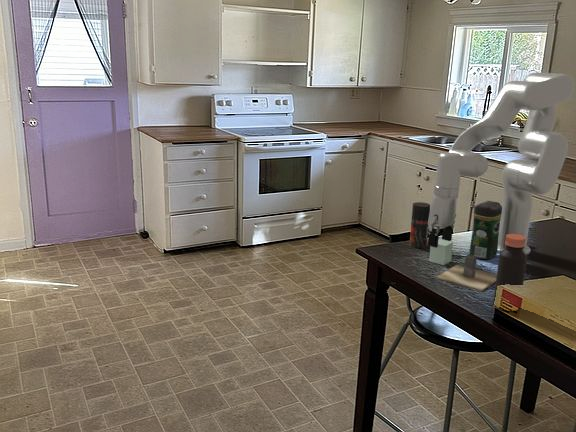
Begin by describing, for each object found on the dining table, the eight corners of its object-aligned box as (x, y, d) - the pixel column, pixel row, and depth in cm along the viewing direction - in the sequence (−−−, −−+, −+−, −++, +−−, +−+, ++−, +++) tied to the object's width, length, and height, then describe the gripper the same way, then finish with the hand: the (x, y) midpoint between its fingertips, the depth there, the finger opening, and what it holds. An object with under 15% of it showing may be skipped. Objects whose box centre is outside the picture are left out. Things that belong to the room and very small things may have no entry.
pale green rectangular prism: (436, 257, 186) (438, 238, 184) (451, 261, 183) (453, 242, 181) (429, 261, 182) (430, 242, 181) (443, 265, 179) (445, 246, 177)
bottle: (490, 308, 150) (499, 237, 144) (495, 299, 155) (504, 231, 149) (517, 314, 146) (527, 242, 140) (521, 305, 152) (531, 235, 146)
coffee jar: (477, 249, 194) (483, 197, 189) (499, 254, 189) (506, 202, 184) (465, 256, 188) (471, 203, 182) (487, 262, 182) (494, 207, 177)
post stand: (457, 265, 179) (459, 245, 177) (500, 277, 170) (503, 256, 168) (436, 278, 169) (438, 256, 167) (481, 291, 160) (484, 268, 158)
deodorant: (426, 248, 194) (430, 207, 190) (409, 247, 195) (412, 206, 191) (426, 243, 200) (430, 202, 195) (409, 241, 201) (412, 201, 196)
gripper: (447, 186, 184) (441, 235, 189) (422, 193, 172) (416, 246, 177) (469, 190, 180) (462, 240, 184) (444, 198, 167) (437, 252, 172)
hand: (439, 243), depth 181 cm, fingers open, 9 cm apart
